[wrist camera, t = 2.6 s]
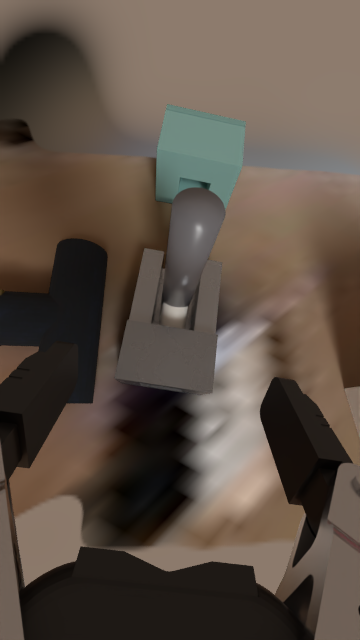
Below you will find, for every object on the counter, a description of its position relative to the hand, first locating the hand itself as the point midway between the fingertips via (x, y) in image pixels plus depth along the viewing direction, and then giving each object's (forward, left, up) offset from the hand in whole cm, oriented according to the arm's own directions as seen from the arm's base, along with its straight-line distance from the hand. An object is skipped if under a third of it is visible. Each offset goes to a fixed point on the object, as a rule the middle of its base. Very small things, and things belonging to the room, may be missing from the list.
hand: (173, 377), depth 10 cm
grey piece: (0, +11, -15) cm, 19 cm away
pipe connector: (-13, +5, -16) cm, 21 cm away
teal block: (0, +26, -16) cm, 31 cm away
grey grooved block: (0, +7, -16) cm, 17 cm away
